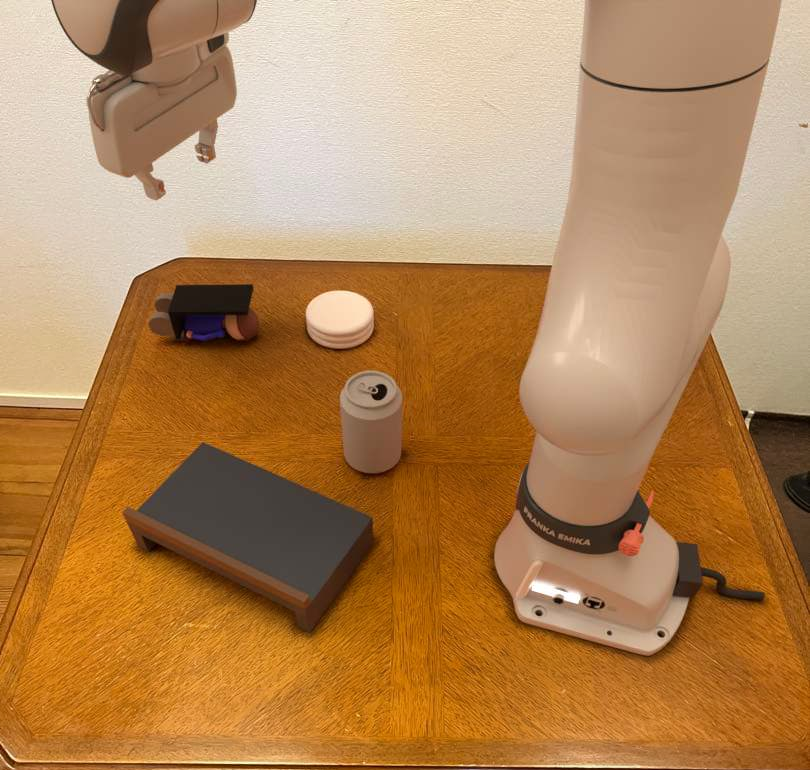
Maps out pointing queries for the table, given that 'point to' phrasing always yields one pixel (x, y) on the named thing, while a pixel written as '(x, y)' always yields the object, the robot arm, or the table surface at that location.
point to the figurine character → (206, 312)
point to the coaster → (340, 319)
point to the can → (371, 421)
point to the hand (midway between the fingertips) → (182, 177)
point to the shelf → (255, 530)
